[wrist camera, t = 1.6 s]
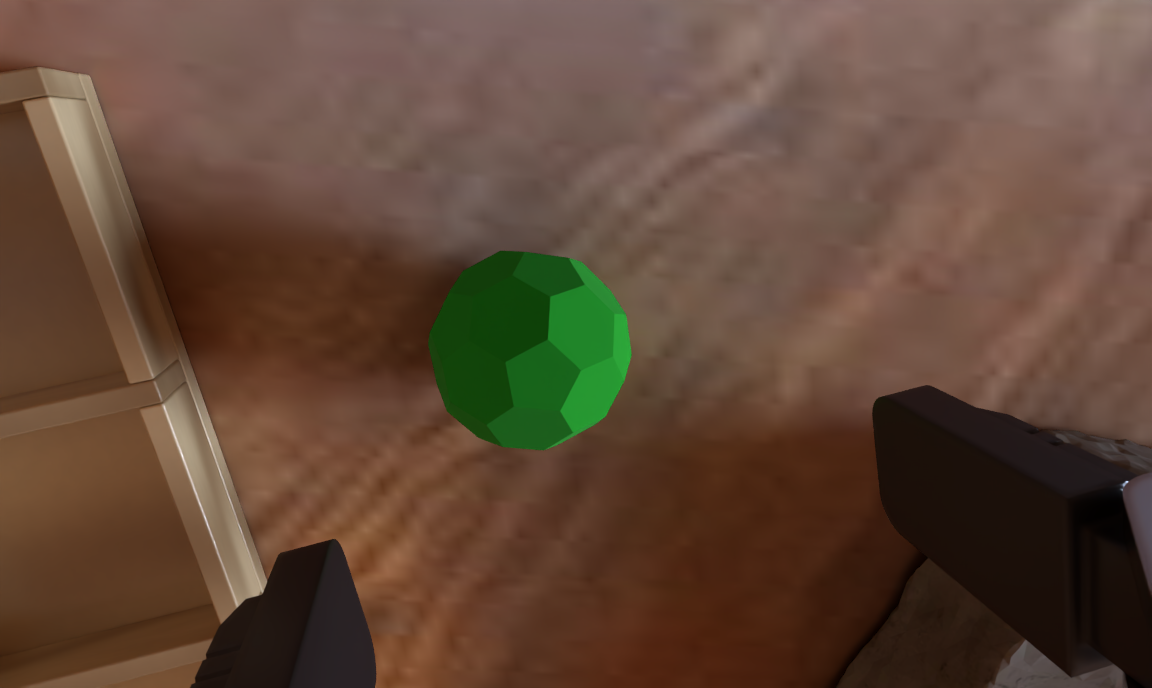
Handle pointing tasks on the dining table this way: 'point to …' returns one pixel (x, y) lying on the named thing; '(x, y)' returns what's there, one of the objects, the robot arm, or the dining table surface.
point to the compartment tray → (99, 423)
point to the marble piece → (973, 624)
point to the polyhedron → (529, 349)
